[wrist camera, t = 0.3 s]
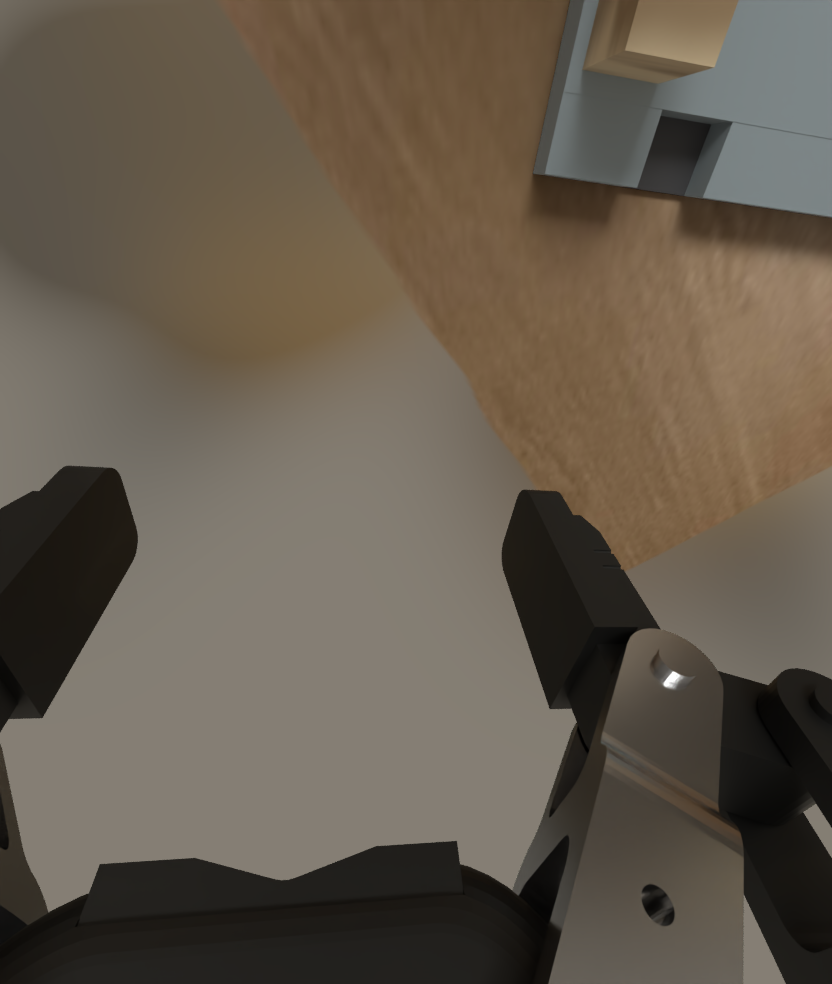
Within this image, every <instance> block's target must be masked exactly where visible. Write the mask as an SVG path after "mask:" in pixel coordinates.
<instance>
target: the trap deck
mask: <svg viewBox="0 0 832 984" xmlns="http://www.w3.org/2000/svg"><path fill="white" fill-rule="evenodd" d="M598 2H599V0H570V4H569V9H568V13H567V18H566V23H565V27H564V32H563V36H562V41H561V46H560V50H559V55H558V60H557V64H556V69H555V74H554V78H553V83H552V87H551V92H550V97H549V101H548V106H547V111H546V115H545V120H544V125H543V129H542V134H541V138H540V143H539V148H538V152H537V157H536V162H535V166H534V171H533V174H539V175H546V176H552V177H559V178H566V179H572V180H579V181H586V182H593V183H599V184H606V185H613V186H619V187H626V188H633V189H640V190H646V191H653V192H660V193H667V194H673V195H680V196H687V197H693V198H700V199H707V200H714V201H720V202H727V203H734V204H741V205H747V206H754V207H761V208H767V209H774V210H781V211H788V212H794V213H801V214H808V215H815V216H821V217H828V218H832V0H739V1H738V4H737V6H736V9H735V12H734V15H733V17H732V20H731V23H730V26H729V28H728V31H727V34H726V37H725V40H724V42H723V45H722V48H721V51H720V53H719V56H718V59H717V62H716V64H715V67H714V68H711V69H708V70H704V71H701V72H697V73H694V74H691V75H687V76H684V77H680V78H677V79H673V80H670V81H666V82H663V83H659V84H657V83H651V82H646V81H641V80H635V79H630V78H624V77H619V76H614V75H608V74H603V73H597V72H592V71H587V70H582V69H583V65H584V61H585V56H586V52H587V48H588V44H589V40H590V36H591V31H592V27H593V23H594V19H595V15H596V11H597V7H598Z"/></svg>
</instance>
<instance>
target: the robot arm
mask: <svg viewBox="0 0 832 984" xmlns="http://www.w3.org/2000/svg"><path fill="white" fill-rule="evenodd" d="M137 543H138V535H137V529H136V525H135V522H134V519H133V515H132V512H131V509H130V506H129V502H128V499H127V496H126V492H125V489H124V486H123V483H122V479H121V476H120V475H119V473H118V472H117V470H115V469H113V468H103V467H83V466H65V467H63V468H62V469H61V470H59V471H58V472H57V474H55V476H54V477H53V478H52V479H51V480H50V481H49V482H48V483H47V484H46V485H45V486H44V487H43V488H42V489H41V490H40V491H32V492H30V493H28V494H26V495H25V496H23V497H21V498H19V499H17V500H15V501H13V502H12V503H10V504H8V505H7V506H4V507H3V508H1V509H0V732H1V730H2V728H3V727H4V725H5V724H6V722H7V721H8V719H21V718H22V719H23V718H43V716H44V714H45V713H46V711H47V709H48V707H49V706H50V704H51V702H52V700H53V698H54V697H55V695H56V693H57V692H58V690H59V688H60V687H61V685H62V683H63V681H64V680H65V678H66V676H67V674H68V673H69V671H70V669H71V668H72V666H73V664H74V662H75V661H76V659H77V657H78V655H79V654H80V652H81V650H82V648H83V647H84V645H85V643H86V641H87V640H88V638H89V636H90V635H91V633H92V631H93V629H94V628H95V626H96V624H97V622H98V621H99V619H100V617H101V615H102V614H103V612H104V610H105V609H106V607H107V605H108V603H109V601H110V600H111V598H112V596H113V595H114V593H115V591H116V589H117V588H118V586H119V584H120V583H121V581H122V579H123V577H124V575H125V574H126V572H127V570H128V569H129V567H130V565H131V563H132V562H133V560H134V557H135V554H136V549H137ZM502 566H503V571H504V574H505V577H506V580H507V583H508V586H509V589H510V592H511V595H512V598H513V601H514V603H515V607H516V610H517V612H518V616H519V618H520V622H521V624H522V628H523V631H524V633H525V636H526V639H527V642H528V646H529V648H530V651H531V654H532V657H533V660H534V663H535V666H536V669H537V672H538V675H539V678H540V681H541V684H542V687H543V690H544V693H545V696H546V699H547V702H548V705H549V708H550V709H566V708H567V709H570V708H572V710H573V713H574V716H575V718H576V721H577V723H576V724H575V726H574V728H573V730H572V732H571V735H570V738H569V741H568V744H567V747H566V750H565V752H564V755H563V758H562V761H561V764H560V768H559V770H558V773H557V776H556V779H555V782H554V785H553V788H552V791H551V794H550V797H549V800H548V803H547V805H546V808H545V812H544V814H543V817H542V820H541V823H540V825H539V828H538V830H537V832H536V835H535V837H534V839H533V841H532V843H531V845H530V847H529V849H528V851H527V853H526V856H525V858H524V860H523V863H522V865H521V868H520V870H519V873H518V875H517V878H516V881H515V884H514V887H513V890H511V889H509V888H508V887H507V886H505V885H504V884H502V883H500V882H499V881H497V880H495V879H494V878H492V877H491V876H489V875H487V874H485V873H482V872H480V871H478V870H475V869H473V868H471V867H468V866H464V865H461V864H460V862H459V855H458V847H457V841H451V842H436V843H420V844H404V845H390V846H376V847H373V848H371V849H368V850H365V851H363V852H360V853H358V854H355V855H353V856H350V857H348V858H345V859H343V860H340V861H337V862H335V863H332V864H330V865H327V866H325V867H322V868H319V869H317V870H314V871H312V872H309V873H307V874H304V875H302V876H299V877H296V878H293V879H290V880H282V881H281V880H275V879H271V878H267V877H263V876H260V875H256V874H252V873H249V872H245V871H241V870H238V869H234V868H230V867H226V866H223V865H218V864H215V863H212V862H208V861H204V860H200V859H196V858H189V859H173V860H158V861H142V862H127V863H111V864H100V865H99V868H98V871H97V873H96V876H95V879H94V882H93V884H92V887H91V890H90V892H89V894H86V895H83V896H81V897H79V898H77V899H75V900H73V901H71V902H68V903H66V904H64V905H62V906H60V907H58V908H56V909H54V910H52V911H50V912H49V913H48V909H47V906H46V903H45V900H44V897H43V894H42V892H41V889H40V887H39V885H38V883H37V881H36V879H35V877H34V875H33V873H32V872H31V870H30V868H29V865H28V863H27V860H26V857H25V854H24V851H23V847H22V842H21V837H20V832H19V827H18V823H17V818H16V813H15V808H14V803H13V799H12V794H11V789H10V784H9V780H8V775H7V770H6V765H5V760H4V756H3V751H2V747H1V745H0V984H743V913H744V909H743V908H744V907H743V905H744V903H743V901H744V895H745V898H746V900H747V902H748V904H749V906H750V908H751V910H752V912H753V914H754V917H755V919H756V921H757V923H758V925H759V927H760V929H761V932H762V934H763V936H764V938H765V940H766V942H767V944H768V946H769V949H770V950H771V953H772V955H773V957H774V959H775V961H776V963H777V966H778V967H779V970H780V972H781V974H782V976H783V978H784V980H785V982H786V984H832V858H831V856H830V855H829V853H828V851H827V850H826V848H825V847H824V845H823V843H822V842H821V840H820V839H819V837H818V836H817V834H816V832H815V831H814V829H813V827H812V826H811V824H810V823H809V821H808V819H807V818H806V816H805V814H804V813H803V812H804V811H805V810H807V809H808V808H810V807H811V806H813V805H814V804H817V806H818V807H819V809H820V810H821V812H822V813H823V815H824V816H825V818H826V820H827V821H828V822H829V824H830V825H831V827H832V680H831V679H829V678H827V677H825V676H823V675H821V674H818V673H815V672H812V671H809V670H805V669H798V668H795V669H788V670H785V671H783V672H781V673H780V674H779V675H778V676H777V677H776V678H775V679H774V680H773V681H772V683H770V684H769V685H765V684H762V683H758V682H755V681H751V680H748V679H744V678H740V677H737V676H733V675H730V674H726V673H723V672H720V671H718V670H717V669H716V667H715V666H714V665H713V663H712V662H711V661H710V659H709V658H708V657H707V656H706V655H705V654H704V653H703V652H702V651H701V650H699V649H698V648H697V647H696V646H695V645H693V644H692V643H690V642H689V641H687V640H686V639H684V638H682V637H680V636H678V635H676V634H674V633H671V632H668V631H665V630H661V629H660V628H659V626H658V625H657V623H656V621H655V620H654V618H653V616H652V615H651V613H650V611H649V610H648V608H647V607H646V605H645V604H644V602H643V600H642V599H641V597H640V596H639V594H638V592H637V591H636V589H635V588H634V586H633V584H632V583H631V581H630V580H629V578H628V576H627V575H626V573H625V572H624V570H621V568H620V567H621V565H620V564H619V562H618V560H617V559H616V557H615V556H614V554H611V549H610V548H609V546H608V545H607V543H606V541H605V540H604V538H603V537H602V535H601V533H600V532H599V531H598V530H597V529H596V528H595V527H593V526H592V525H591V524H590V523H589V522H588V521H586V520H585V519H584V518H583V517H582V516H580V515H573V514H572V512H571V511H570V509H569V507H568V506H567V504H566V502H565V500H564V499H563V497H562V495H561V494H560V493H559V492H557V491H540V490H522V491H521V492H520V493H519V495H518V497H517V500H516V503H515V507H514V510H513V513H512V516H511V520H510V523H509V526H508V529H507V532H506V536H505V539H504V542H503V547H502Z"/></svg>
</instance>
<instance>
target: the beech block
mask: <svg viewBox="0 0 832 984" xmlns="http://www.w3.org/2000/svg"><path fill="white" fill-rule="evenodd" d="M738 1H739V0H599V2H598V7H597V11H596V15H595V19H594V23H593V27H592V31H591V36H590V40H589V44H588V48H587V52H586V56H585V61H584V65H583V69H582V70H587V71H592V72H597V73H603V74H608V75H614V76H619V77H624V78H630V79H635V80H641V81H646V82H651V83H657V84H659V83H663V82H666V81H670V80H673V79H677V78H680V77H684V76H687V75H691V74H694V73H697V72H701V71H704V70H708V69H711V68H714V67H715V64H716V62H717V59H718V56H719V53H720V51H721V48H722V45H723V42H724V40H725V37H726V34H727V31H728V28H729V26H730V23H731V20H732V17H733V15H734V12H735V9H736V6H737V4H738Z"/></svg>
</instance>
